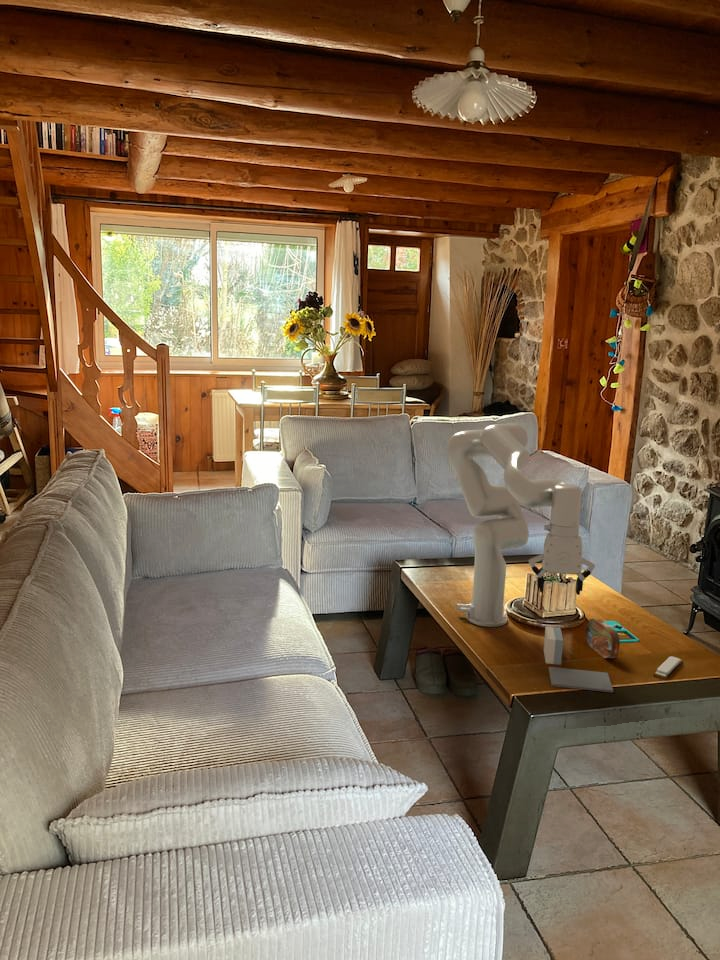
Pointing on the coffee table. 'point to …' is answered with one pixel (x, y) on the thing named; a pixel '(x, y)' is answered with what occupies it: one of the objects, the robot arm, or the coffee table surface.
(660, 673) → the harmonica
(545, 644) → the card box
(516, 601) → the coffee table surface
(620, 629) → the handheld gaming console
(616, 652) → the tin
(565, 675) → the mat
